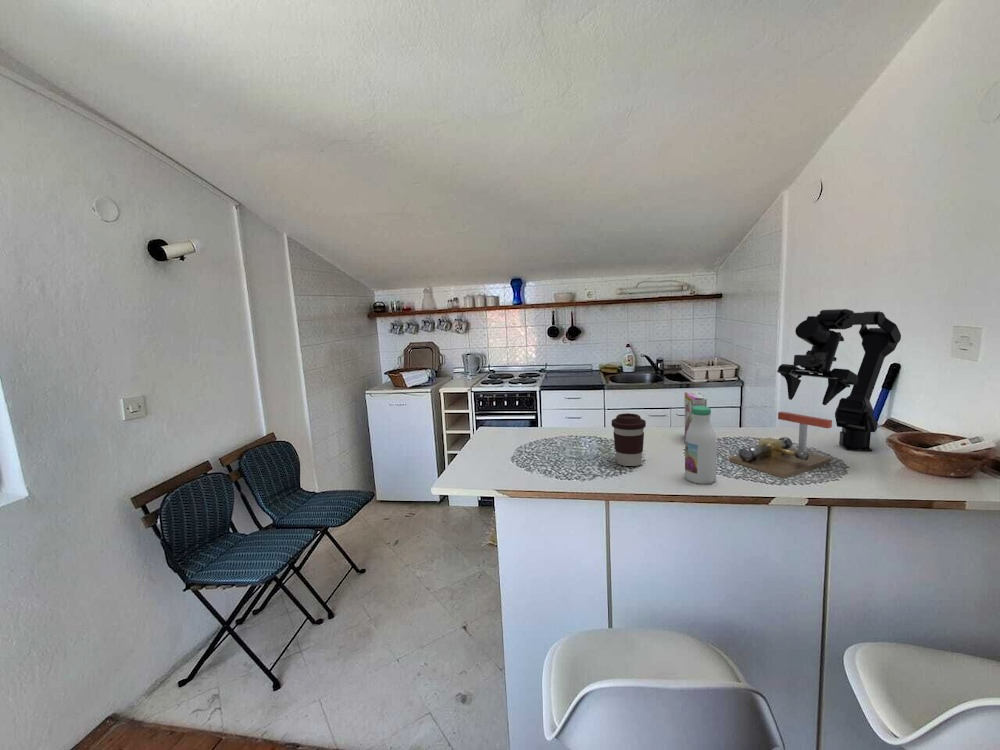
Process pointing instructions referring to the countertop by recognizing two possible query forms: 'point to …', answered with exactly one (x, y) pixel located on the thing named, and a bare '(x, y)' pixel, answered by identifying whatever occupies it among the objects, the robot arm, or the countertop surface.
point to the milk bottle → (700, 448)
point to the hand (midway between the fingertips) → (806, 402)
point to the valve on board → (777, 458)
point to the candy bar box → (692, 401)
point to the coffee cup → (628, 438)
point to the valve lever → (804, 429)
